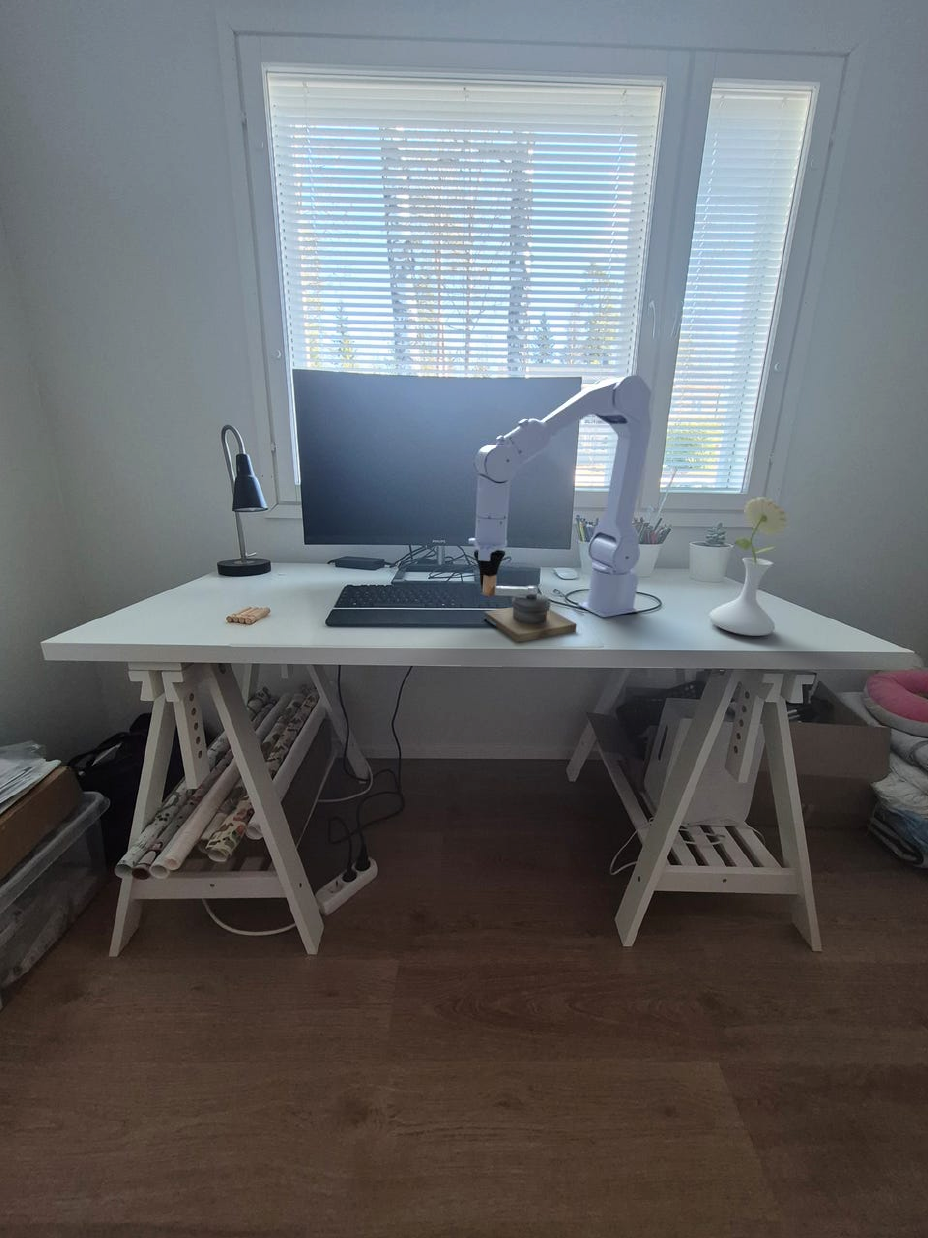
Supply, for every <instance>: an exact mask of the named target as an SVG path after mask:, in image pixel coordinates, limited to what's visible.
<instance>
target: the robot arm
mask: <svg viewBox="0 0 928 1238" xmlns="http://www.w3.org/2000/svg"><path fill="white" fill-rule="evenodd" d="M652 392H653V391H652V389H651V388H650V387H649V386H648V384H647V383H646V381H645V380H644V378H642V377H641V376H639V375H635V374H631V375H630V374H629V375H627V376H622V377H617V378H609V379H607V378H604V379H603V378H602V379H599V380H597V381H596V382H594V384H590V385H588V386H586V387H584V388H583V389H582V390H581V391H579V392H578V393H577V394H576V395H574V396H572V397H571V398H570V399H569V400H567V401H566V402H565V403H564V404H562V405H561V406H559V407H558V408H556V409H555V410H554V411H552V412H551V413H549V414H548V415H547V416H545V418H543V419H542V420H539V419H537V418H529V419H527V418H526V419H525V418H523V419H522V420H520V421H519V422H518V423H517V424H518V427H516V428H515V429H513V430H511V431H510V432H509V433H507V434H505V435H504V436H503V435H499V436H498V437H497V438H495V444H488V445H485V446H483V447H482V448H480V449H479V450H478V452H477V454H476V455H475V459H474V460H472V466H473V470H474V472H475V474H476V475H477V488H476V489H477V490H476V508H475V530H474V532H475V533H474V537H470V538H468V542H467V543H468V544H471V545H474V546H475V548H476V549H475V550H474V552H473V557H474V559H475V561H476V564H477V565H478V570H479V579H480V580H479V581H480V588H481V590H483V578H484V574H487V573H491V574H496V575H498V571H499V568H500V565H501V563H502V561H503V560H504V558H505V555H506V551H505V550H503V549H504V548H506V547H507V546H508V540H507V534H508V522H509V521H508V516H509V507H510V506H509V505H510V504H509V503H510V493H511V492H510V490H511V489H510V487H511V480H512V479H514V477H515V475H516V474H517V471H518V469H519V468H520V467H522V466H523V465H524V464H526V463H528V462H529V461H531V460H532V459H534V458H535V457H536V456H538V455H540V454H541V453H543V452H544V451H546V450H547V449H548V448H549V446H550V443H551V439H552V438H553V437H554V436H556V435H557V434H559V433H561V432H562V431H564V430H566V429H567V428H570V427H571V426H572V425H574V424H576V423H577V422H580V421H581V420H583V419H584V418H585V417H588V416H590V415H594V416H595V417H597V418H598V419H600V420H601V421H604V423H606V424H608V425H609V426H610V427H611V429H612V430H613V431H614V432H615V434H616V435H617V441H616V446H615V453H614V458H613V459H614V460H613V465H612V470H611V476H610V481H609V486H608V487H609V488H608V491H607V492H608V493H607V497H606V498H607V499H606V505H605V510H604V515H603V519H602V521H600V522H599V523H598V524H597V525H596V526H595V527H594V533H593V536H592V537H591V539H590V541H588V542H589V543H588V546H587V554H588V556H589V558H590V559H591V565H592V567H591V574H590V581H589V587H588V594H587V601H583V602H578V603H577V606H578V607H580V608H582V609H585V610H587V611H588V612H590V613H593V614H595V615H597V616H599V617H601V618H607V617H613V616H619V615H624V614H628V613H629V614H630V613H635V612H637V609H636V608H634V605H635V601H636V596H637V590H638V584H639V578H638V574H637V572H636V571H635V570H634V568H635V567H636V566H637V565H638V562H639V560H640V556H641V551H640V547H639V541H640V534H639V532H638V530H637V529H636V527H635V525H634V524H633V522H634V521H633V520H634V515H635V513H636V512H635V511H636V507H637V502H638V501H637V500H638V498H639V497H638V495H639V491H640V486H641V485H640V484H641V480H642V476H643V470H644V465H645V461H646V455H647V451H648V445H649V442H650V441H649V440H650V435H651V431H652V421H651V414H650V402H651V397H652Z"/></svg>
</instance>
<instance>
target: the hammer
mask: <svg viewBox="0 0 928 1238" xmlns="http://www.w3.org/2000/svg"><path fill="white" fill-rule="evenodd" d="M497 575H498V574H497ZM497 575H496V574H491V573H487V574H484V578H483V589H482V595H483V596H486V597H487V596H488V597H493V596H504V597H505V596H506V597H508V596H510V597H514V596H526V598H528V599H536V598H537V593H538V589H539V587H538V586H537V585H527V586H517V585H515V586H514V585H512V586H510V585H497V578H498V576H497Z"/></svg>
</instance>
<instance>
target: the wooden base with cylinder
mask: <svg viewBox="0 0 928 1238" xmlns="http://www.w3.org/2000/svg"><path fill="white" fill-rule="evenodd" d="M483 612H484V615H485V616H486V617H487V618H488V619H491V620H492V621H493V622H495V623H496V625H497V629H498V630H499V631H501V633H504V634H505V635H506V636H508V637H509V638H510V639H512V640H513V641H515V642H516V643H522V642H527V641H532V640H537V639H538V640H539V639H542V638H548V637H554V636H558V635H564V634H568V633H574V632H576V631H577V625H578V624H577V623H576V622H575V621H572V620H570V619H569V618H567V617H565V616H563V615H561V614H559V613H557V612H556V611H554V610H552V609H551V601H550V600H549V597H547V596H546V595H545V594H542V593H538V592H537V598H536V599H528V598H526V596H513V598H511V607H507V608H505V607H504V608H500V609H493V610H486V611H483ZM484 615H483V616H484Z"/></svg>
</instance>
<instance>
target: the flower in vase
mask: <svg viewBox="0 0 928 1238" xmlns="http://www.w3.org/2000/svg"><path fill="white" fill-rule="evenodd" d="M744 508H745V509H744V510H743V514H744V515H745V516H746V517H745V519H746V521H748V524H749V526H751V527H753V530H752V533H751V535H750V538H749V540H747V539H746V538H745V537H743V536H741V537H739V538H738V539H737V540H735V541H734V542H733V545H735V546H737V547H740V548H741V549H743V550H745V551H747V550H748V549H749V548H750V550H751V553H752V557H743V558H742V561H743V563H744V566H745V567H744V568H745V580H744V585H743V587H742V588H743V589H742V591H741V593H740V595H739V596H738V597H737V598H736V599H733V600H732V601H729V602H726V603H724V604H722V605H720V606H718V607H716V608H714V609H713V610H712V611H711V612H710V613H709V614H708V618H709V620H710V622H711V623H712V624H714V625H715V626H717V627H719V628H721V629H723V630H725V631H728V632H730V633H734V634H739V635H742V636H743V635H744V636H753V637H754V636H756V637H757V636H766V635H770V634H772V633H773V632H774V631H775V629H776V626H775V622H774V620H773V619H772V618H771V617H770V615H769V614H768V613H767V612H766V611H765V610H764V609H763V608H762V607H761V606H760V605H759V603H758V601H757V599H756V598H757V590H758V588H759V584H760V582H761V579H762V578H763V576H764V574H765V573H766V571H767V570H768V569H769V568H771V567H772V566H773V565H774V562H772V561H771V560H767V559H763V558H757V556H756V554H760V553H761V554H762V553H764V552H769V551H770V550H772V549H774V548H775V547H777V544H776V545H775V546H772V547H764V548H762V549H760V550H758V551H755V549H754V546H753V538H754V535H755V533H756V531H758V530H759V533H761V534H765V535H766V536H771V535H777V534H781V533H783V532H784V530H785V528H786V525H787V524H788V522H787V521H788V518H787V517H786V516H785V514H786V510H785V509H782V505H780V504H776V503H775V500H774V499H769V500H768V499H767V498H766V497H765V496H762V497H759V496H758V497H756V499H754V498H753V499H750V501H747V502H746V505H745V507H744Z"/></svg>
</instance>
